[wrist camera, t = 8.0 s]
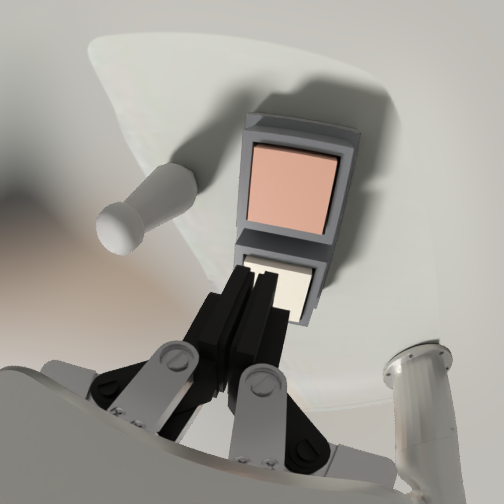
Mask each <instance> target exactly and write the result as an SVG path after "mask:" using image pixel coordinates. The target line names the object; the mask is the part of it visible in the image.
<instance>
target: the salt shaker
mask: <svg viewBox="0 0 504 504" xmlns="http://www.w3.org/2000/svg"><path fill="white" fill-rule="evenodd" d="M197 187H198V186H197V183H196V180H195V177H194V174H193V171H191V170H189V169H186V168H185V167H183V166H181V165H178V164H174V163H167V164H164V165H161V166H158V167H157V168H156V169H155V170H154V171H153V172H152V173H151V174H150V175H149V176H148V177H147V178H146V179H145V180H144V181H143V182H142V183H141V185H140V186H139V187H138V188H137V189H136V190H135V191H134V192H133V193H132V194H131V195H130V196H129V197H128V198H127V199H126V200H125V201H124V202H123V203H122V202H117V203H114V204H111V205H109V206H107V207H105V208H104V209H103V211H102V212H101V213H100V214H99V216H98V217H97V221H96V231H97V234H98V238H99V240H100V241H101V243H102V244H103V246H104V247H105V248H107V249H108V250H109V251H110V252H113V253H115V254H119V255H127V254H129V253H131V252H133V251H134V250H135V249H136V248H137V247H138V246H139V244H140V243H141V242H142V240H143V237H144V233H146V232H148V231H150V230H152V229H154V228H156V227H158V226H160V225H161V224H163V223H165V222H167V221H169V220H171V219H173V218H175V217H177V216H179V215H181V214H183V213H185V212H186V211H187V210H188V209H189V208H190V207H191V206H192V205H193V203H194V201H195V198H196V196H197Z"/></svg>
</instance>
